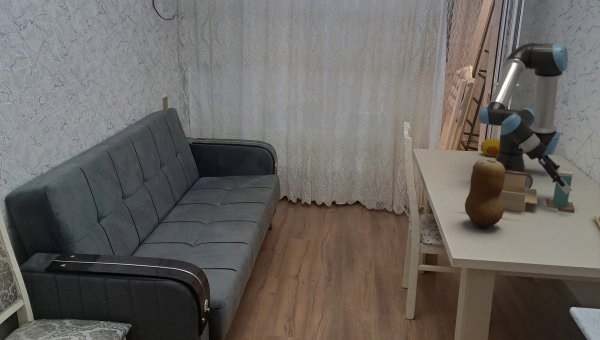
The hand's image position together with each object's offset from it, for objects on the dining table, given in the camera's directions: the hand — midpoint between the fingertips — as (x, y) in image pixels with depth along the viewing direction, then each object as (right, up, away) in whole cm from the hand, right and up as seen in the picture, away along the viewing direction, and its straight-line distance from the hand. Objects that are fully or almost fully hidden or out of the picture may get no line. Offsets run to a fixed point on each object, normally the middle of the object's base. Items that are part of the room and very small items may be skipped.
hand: (568, 187), depth 209 cm
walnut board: (-2, -8, +3) cm, 9 cm away
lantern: (+1, +14, +83) cm, 84 cm away
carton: (-23, -7, +7) cm, 25 cm away
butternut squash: (-41, -14, -17) cm, 47 cm away
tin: (-12, -2, +25) cm, 28 cm away
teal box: (-2, -7, +3) cm, 8 cm away
